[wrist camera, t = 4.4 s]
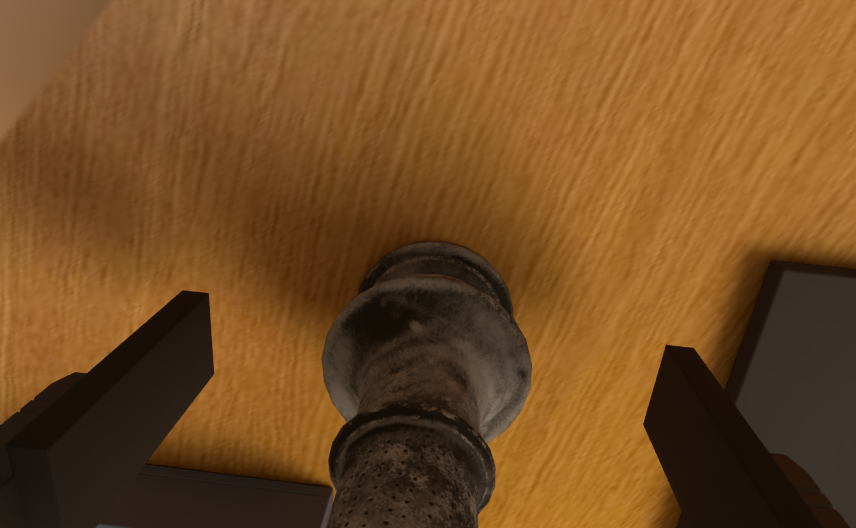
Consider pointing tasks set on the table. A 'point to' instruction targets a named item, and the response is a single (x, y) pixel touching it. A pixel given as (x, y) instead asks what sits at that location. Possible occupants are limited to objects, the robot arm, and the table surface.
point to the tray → (216, 502)
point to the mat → (803, 375)
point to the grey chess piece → (422, 389)
